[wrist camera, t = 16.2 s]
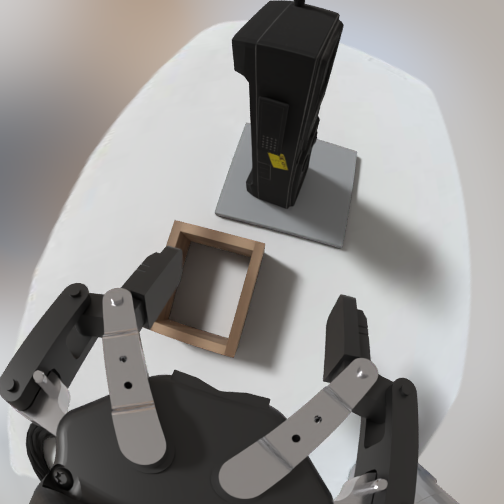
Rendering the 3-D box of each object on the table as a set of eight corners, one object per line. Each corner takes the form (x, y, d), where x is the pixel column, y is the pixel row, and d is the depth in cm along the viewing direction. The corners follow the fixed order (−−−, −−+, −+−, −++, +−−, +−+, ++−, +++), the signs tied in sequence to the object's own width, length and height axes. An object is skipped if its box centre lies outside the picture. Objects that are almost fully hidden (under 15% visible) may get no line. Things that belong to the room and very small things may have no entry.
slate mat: (354, 155, 35) (357, 151, 34) (340, 248, 33) (342, 246, 32) (246, 126, 36) (246, 122, 35) (215, 215, 34) (214, 212, 33)
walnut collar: (264, 252, 33) (265, 243, 28) (237, 349, 31) (233, 357, 26) (186, 231, 33) (174, 220, 28) (159, 324, 31) (143, 327, 26)
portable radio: (289, 219, 32) (351, 41, 8) (242, 201, 33) (215, 12, 8) (309, 166, 34) (367, -7, 9) (265, 150, 34) (273, -30, 9)
